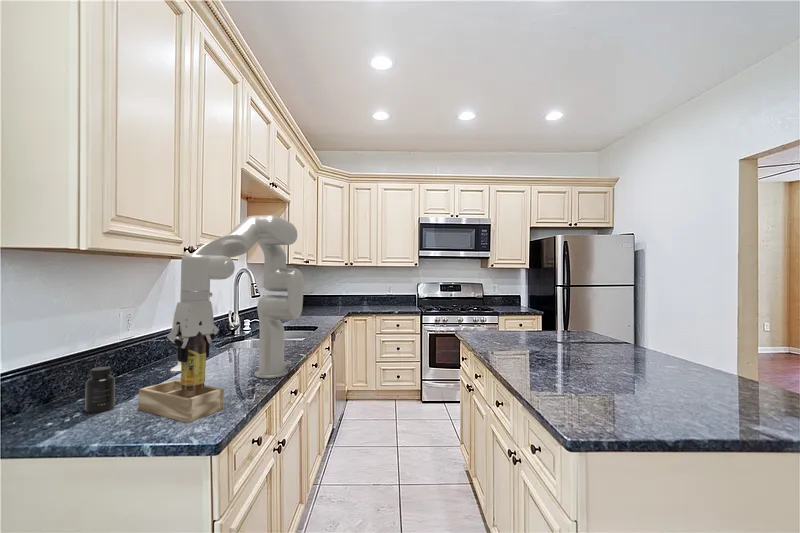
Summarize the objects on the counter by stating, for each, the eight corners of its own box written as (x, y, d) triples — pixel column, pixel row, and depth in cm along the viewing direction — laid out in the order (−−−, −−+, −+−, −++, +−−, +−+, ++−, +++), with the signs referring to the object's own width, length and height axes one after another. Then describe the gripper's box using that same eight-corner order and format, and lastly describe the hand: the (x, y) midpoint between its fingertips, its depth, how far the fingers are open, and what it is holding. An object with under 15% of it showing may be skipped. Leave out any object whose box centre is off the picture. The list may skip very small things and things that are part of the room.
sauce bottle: (175, 389, 109) (177, 320, 109) (196, 384, 114) (197, 317, 115) (189, 393, 106) (191, 321, 106) (210, 387, 111) (211, 319, 112)
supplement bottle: (83, 409, 112) (84, 368, 112) (112, 403, 116) (113, 364, 117) (86, 415, 107) (87, 372, 107) (116, 409, 111) (117, 368, 112)
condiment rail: (175, 398, 122) (176, 379, 122) (223, 409, 113) (223, 388, 113) (138, 409, 111) (138, 389, 112) (187, 422, 102) (187, 400, 102)
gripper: (212, 295, 120) (211, 352, 120) (157, 298, 104) (155, 364, 104) (229, 296, 117) (228, 355, 116) (175, 299, 101) (173, 367, 101)
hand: (193, 358), depth 110 cm, fingers closed on sauce bottle, 6 cm apart
